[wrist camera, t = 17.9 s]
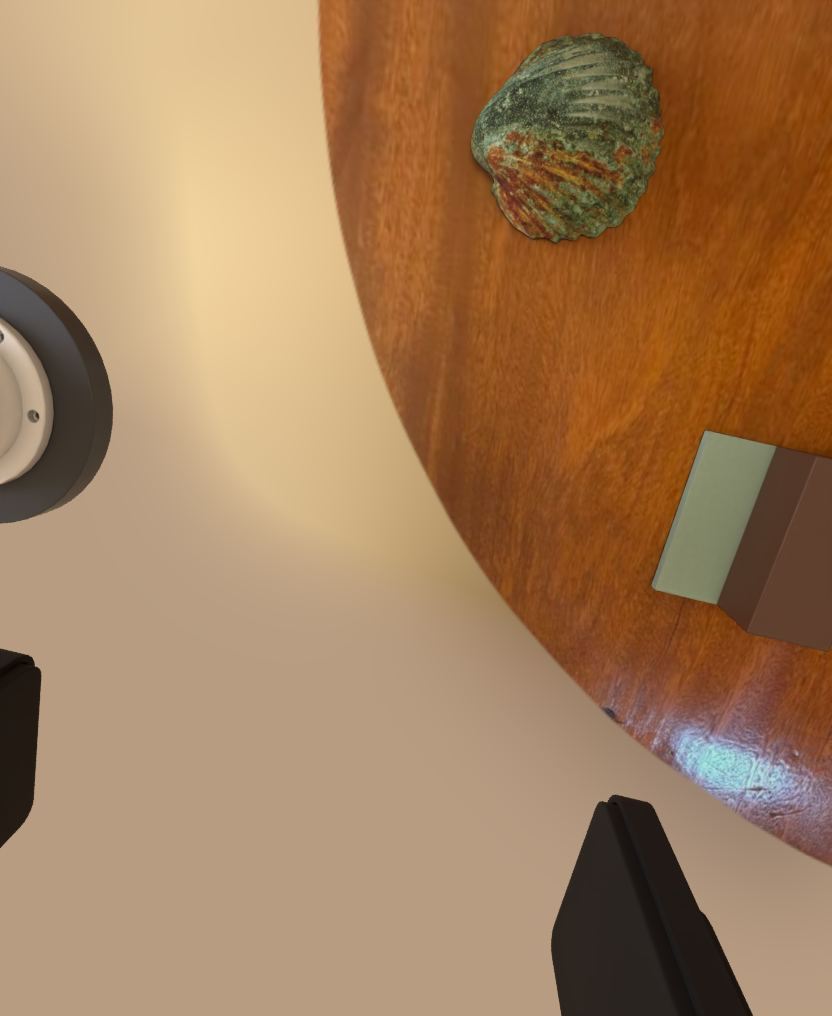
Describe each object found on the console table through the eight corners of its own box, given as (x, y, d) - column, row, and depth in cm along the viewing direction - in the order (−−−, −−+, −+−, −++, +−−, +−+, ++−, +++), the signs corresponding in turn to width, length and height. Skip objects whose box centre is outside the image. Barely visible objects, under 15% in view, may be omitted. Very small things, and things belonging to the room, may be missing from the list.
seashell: (668, 226, 27) (460, 209, 28) (642, 251, 31) (461, 236, 32) (707, -9, 26) (485, -20, 27) (675, 49, 30) (484, 38, 31)
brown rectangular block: (715, 604, 35) (746, 632, 31) (776, 445, 32) (817, 455, 29) (789, 621, 35) (829, 653, 31) (855, 463, 32) (907, 475, 28)
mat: (650, 585, 36) (654, 590, 35) (704, 429, 33) (710, 431, 33) (841, 631, 35) (850, 637, 35) (910, 476, 33) (921, 479, 32)
